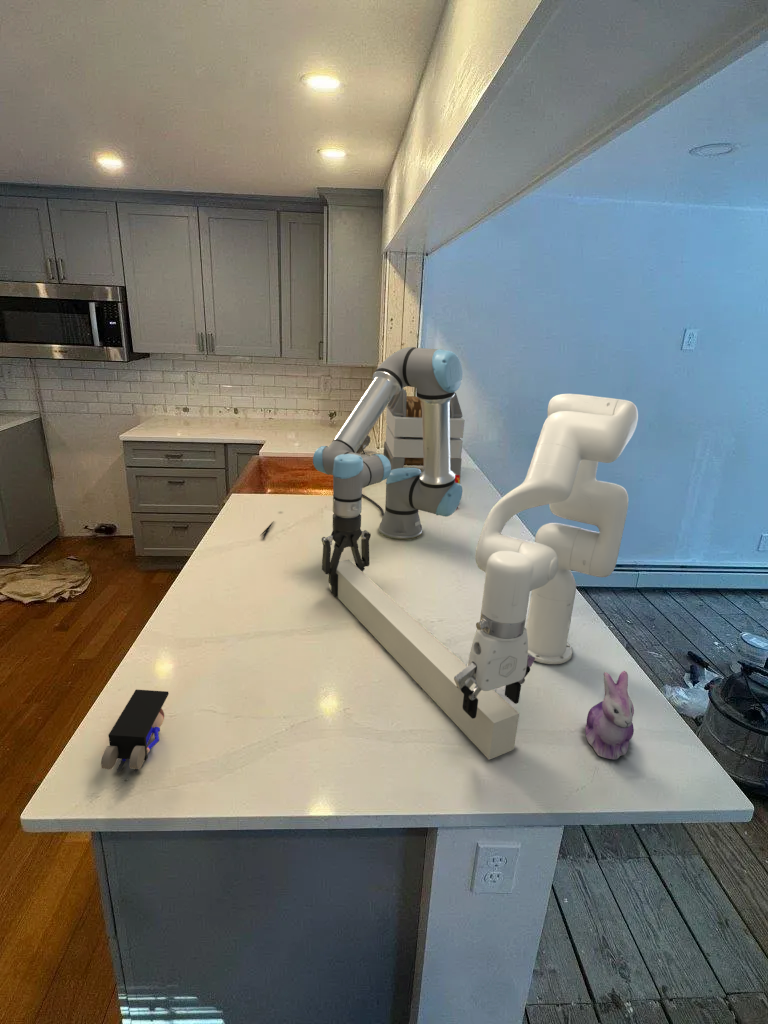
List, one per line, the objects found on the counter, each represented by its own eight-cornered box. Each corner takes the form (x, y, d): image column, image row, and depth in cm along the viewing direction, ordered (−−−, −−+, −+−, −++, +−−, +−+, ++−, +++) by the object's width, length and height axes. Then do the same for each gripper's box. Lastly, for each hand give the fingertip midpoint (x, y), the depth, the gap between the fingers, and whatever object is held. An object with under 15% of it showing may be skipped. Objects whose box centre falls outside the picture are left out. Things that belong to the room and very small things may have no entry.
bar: (329, 589, 159) (329, 562, 156) (348, 585, 162) (348, 559, 159) (489, 760, 101) (494, 723, 98) (514, 749, 103) (519, 713, 101)
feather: (281, 515, 215) (284, 511, 215) (262, 541, 189) (264, 536, 188) (277, 512, 215) (280, 508, 215) (257, 538, 189) (260, 534, 188)
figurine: (612, 770, 99) (628, 699, 94) (570, 732, 108) (582, 666, 103) (649, 753, 104) (666, 685, 99) (605, 718, 112) (619, 654, 107)
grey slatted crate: (382, 463, 289) (386, 382, 275) (445, 464, 293) (451, 384, 279) (390, 482, 257) (394, 392, 243) (460, 483, 261) (468, 394, 247)
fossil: (346, 440, 314) (367, 425, 309) (357, 454, 317) (378, 439, 312) (340, 454, 295) (362, 438, 290) (351, 468, 298) (374, 453, 293)
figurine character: (145, 787, 93) (174, 717, 107) (138, 755, 90) (169, 687, 103) (104, 787, 93) (138, 716, 107) (95, 754, 90) (132, 686, 103)
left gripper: (319, 523, 141) (318, 605, 149) (385, 513, 150) (381, 591, 158) (308, 513, 147) (308, 592, 155) (372, 504, 156) (369, 580, 164)
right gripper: (475, 644, 90) (464, 733, 95) (555, 622, 98) (541, 705, 103) (448, 622, 96) (439, 707, 101) (525, 603, 104) (513, 682, 110)
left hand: (345, 592), depth 157 cm, fingers closed on bar, 6 cm apart
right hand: (490, 706), depth 102 cm, fingers open, 9 cm apart
